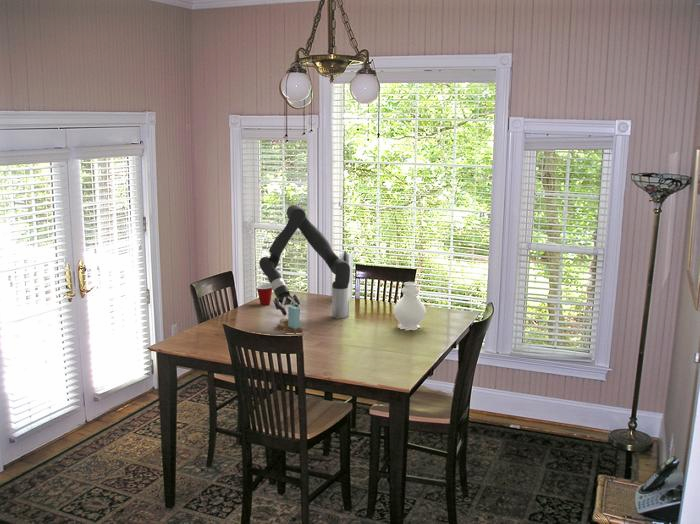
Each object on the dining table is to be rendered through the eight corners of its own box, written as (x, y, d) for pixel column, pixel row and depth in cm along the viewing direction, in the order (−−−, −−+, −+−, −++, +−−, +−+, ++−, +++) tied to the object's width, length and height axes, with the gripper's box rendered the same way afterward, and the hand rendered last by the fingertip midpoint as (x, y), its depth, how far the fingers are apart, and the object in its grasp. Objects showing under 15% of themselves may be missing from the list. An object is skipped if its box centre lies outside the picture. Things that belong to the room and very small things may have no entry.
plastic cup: (254, 302, 442) (254, 283, 440) (272, 302, 445) (272, 283, 442) (256, 307, 432) (256, 287, 429) (274, 306, 434) (274, 287, 432)
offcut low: (286, 325, 392) (286, 322, 392) (291, 327, 389) (291, 323, 389) (279, 327, 389) (279, 323, 388) (283, 329, 386) (283, 325, 385)
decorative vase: (397, 321, 408) (399, 278, 403) (428, 324, 402) (430, 281, 397) (389, 329, 392) (390, 285, 387) (420, 333, 386) (422, 288, 381)
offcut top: (286, 322, 391) (286, 318, 391) (290, 323, 389) (290, 319, 388) (279, 323, 388) (279, 319, 388) (284, 325, 385) (284, 321, 385)
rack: (291, 325, 396) (291, 319, 396) (314, 334, 381) (314, 328, 380) (270, 329, 388) (270, 324, 387) (293, 338, 372) (293, 333, 371)
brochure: (347, 301, 450) (348, 254, 444) (339, 300, 451) (340, 254, 445) (352, 296, 464) (353, 250, 458) (344, 295, 465) (344, 250, 459)
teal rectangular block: (292, 329, 386) (292, 305, 384) (299, 331, 382) (299, 308, 379) (288, 330, 384) (288, 306, 382) (294, 332, 380) (295, 309, 377)
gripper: (271, 286, 381) (284, 311, 375) (293, 283, 390) (305, 307, 384) (266, 294, 386) (278, 319, 380) (287, 290, 395) (300, 315, 389)
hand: (292, 313), depth 382 cm, fingers open, 8 cm apart
